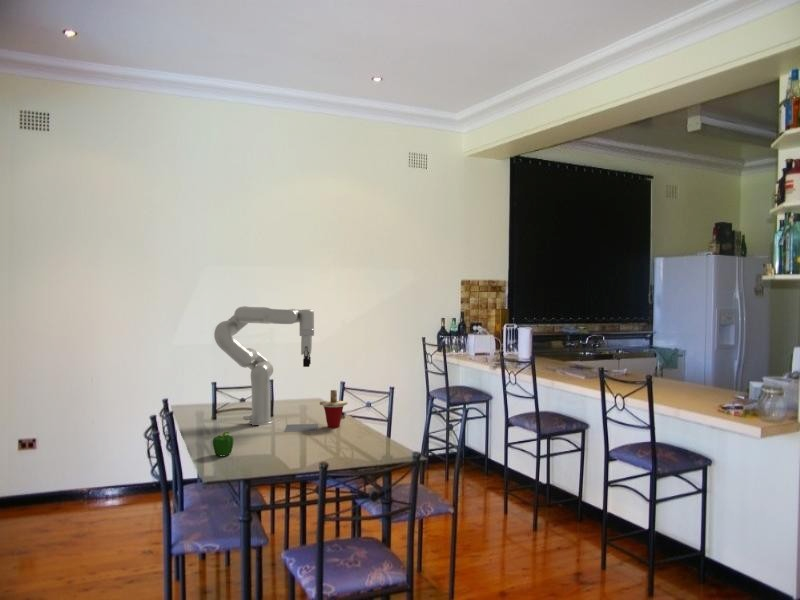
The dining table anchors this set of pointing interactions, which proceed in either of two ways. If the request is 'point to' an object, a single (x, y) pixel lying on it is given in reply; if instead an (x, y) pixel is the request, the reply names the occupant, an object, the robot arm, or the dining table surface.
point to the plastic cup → (333, 415)
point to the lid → (333, 400)
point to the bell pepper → (223, 444)
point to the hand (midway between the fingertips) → (306, 365)
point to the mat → (301, 427)
